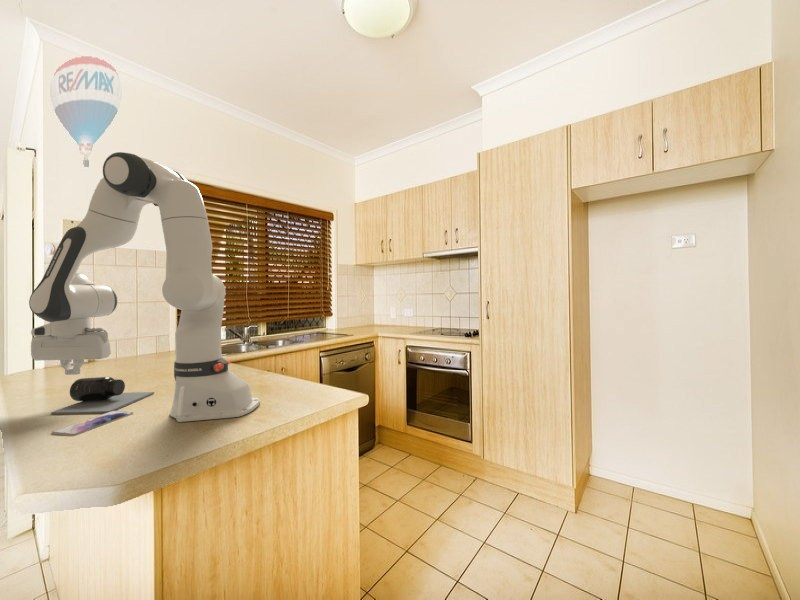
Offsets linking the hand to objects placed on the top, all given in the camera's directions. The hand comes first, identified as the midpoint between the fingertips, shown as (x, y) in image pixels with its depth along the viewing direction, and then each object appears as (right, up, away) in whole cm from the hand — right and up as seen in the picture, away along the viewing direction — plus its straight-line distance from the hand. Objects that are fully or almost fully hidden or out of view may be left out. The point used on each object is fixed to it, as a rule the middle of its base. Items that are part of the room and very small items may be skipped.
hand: (72, 374), depth 102 cm
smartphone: (+20, -10, -15) cm, 27 cm away
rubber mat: (+10, -9, +1) cm, 13 cm away
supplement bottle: (0, -5, +1) cm, 5 cm away
